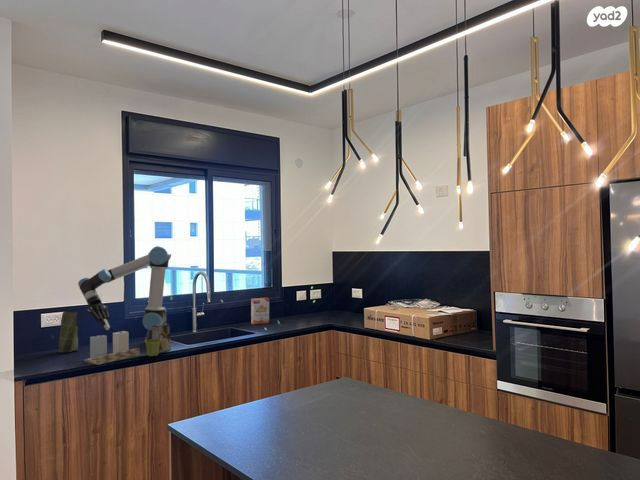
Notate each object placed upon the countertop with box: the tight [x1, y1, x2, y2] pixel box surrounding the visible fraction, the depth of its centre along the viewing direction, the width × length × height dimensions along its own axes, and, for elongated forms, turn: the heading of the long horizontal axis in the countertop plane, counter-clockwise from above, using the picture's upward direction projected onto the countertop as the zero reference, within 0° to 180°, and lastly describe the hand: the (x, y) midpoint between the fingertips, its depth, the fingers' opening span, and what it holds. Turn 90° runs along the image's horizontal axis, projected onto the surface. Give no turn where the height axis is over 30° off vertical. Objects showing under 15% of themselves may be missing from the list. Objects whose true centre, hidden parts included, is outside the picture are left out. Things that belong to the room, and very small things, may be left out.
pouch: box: [57, 310, 79, 354], centre depth 287 cm, size 11×12×25 cm
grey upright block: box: [89, 334, 108, 359], centre depth 265 cm, size 7×5×12 cm
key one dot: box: [112, 330, 130, 353], centre depth 277 cm, size 7×5×12 cm
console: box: [83, 347, 141, 366], centre depth 269 cm, size 26×14×4 cm, turn 147°
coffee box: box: [152, 323, 172, 354], centre depth 287 cm, size 9×6×16 cm
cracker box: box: [250, 297, 270, 325], centre depth 383 cm, size 14×6×21 cm, turn 119°
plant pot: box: [144, 339, 161, 357], centre depth 276 cm, size 9×9×9 cm
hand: (108, 328), depth 283 cm, fingers closed
